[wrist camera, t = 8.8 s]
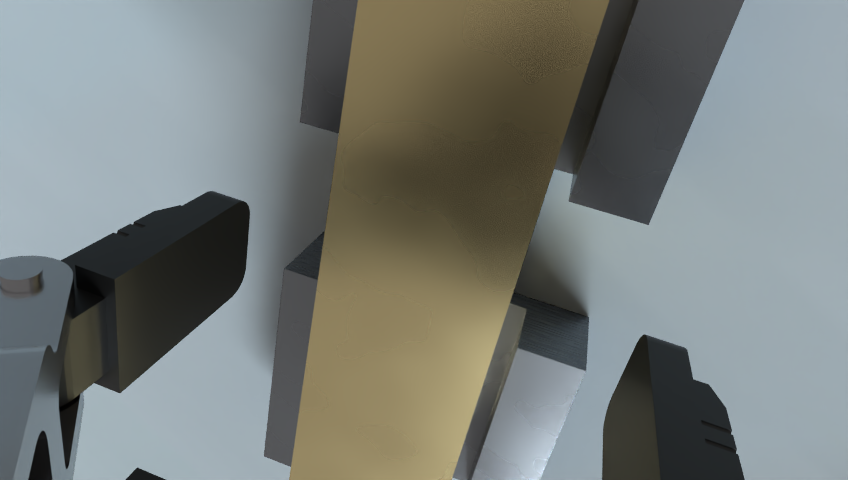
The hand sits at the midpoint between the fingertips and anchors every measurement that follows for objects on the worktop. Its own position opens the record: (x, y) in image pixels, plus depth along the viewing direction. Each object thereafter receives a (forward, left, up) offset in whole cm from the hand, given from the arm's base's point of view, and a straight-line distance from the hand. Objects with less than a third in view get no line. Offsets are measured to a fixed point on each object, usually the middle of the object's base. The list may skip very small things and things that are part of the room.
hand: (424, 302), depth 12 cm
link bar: (0, 0, -4) cm, 4 cm away
